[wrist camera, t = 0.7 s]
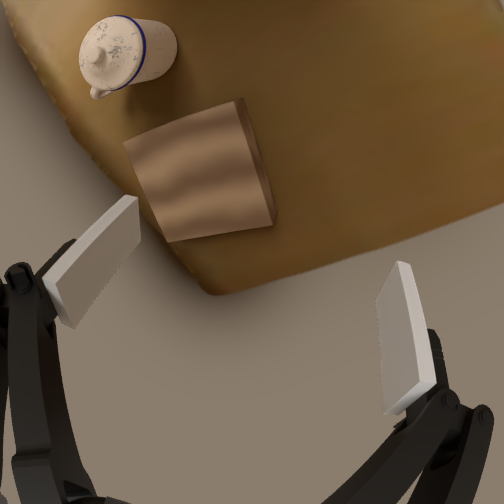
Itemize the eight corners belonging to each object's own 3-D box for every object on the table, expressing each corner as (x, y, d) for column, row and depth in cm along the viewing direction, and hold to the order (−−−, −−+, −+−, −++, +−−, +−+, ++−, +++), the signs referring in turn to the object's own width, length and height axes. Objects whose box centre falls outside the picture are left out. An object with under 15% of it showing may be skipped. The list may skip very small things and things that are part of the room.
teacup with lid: (147, 7, 28) (90, 0, 18) (194, 43, 30) (145, 41, 21) (101, 74, 34) (43, 89, 25) (140, 110, 37) (87, 133, 27)
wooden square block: (138, 134, 39) (122, 142, 36) (242, 97, 33) (233, 101, 30) (178, 228, 47) (167, 242, 44) (277, 210, 42) (272, 225, 38)
